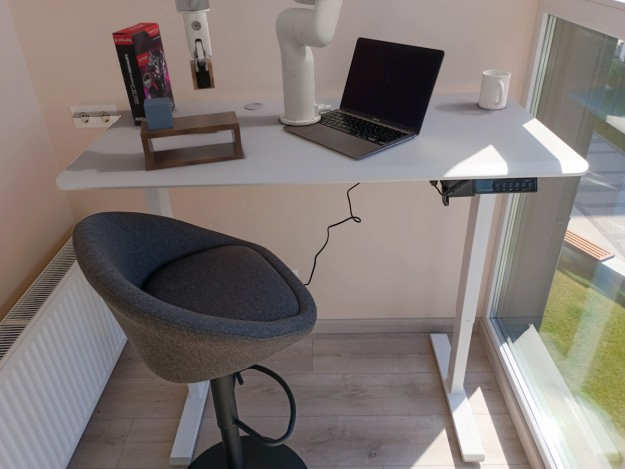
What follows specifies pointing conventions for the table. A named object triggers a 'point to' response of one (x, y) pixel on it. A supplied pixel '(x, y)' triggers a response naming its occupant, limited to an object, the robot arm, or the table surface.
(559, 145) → the table surface
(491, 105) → the mug
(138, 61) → the graphics card box
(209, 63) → the cardboard box
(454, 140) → the table surface
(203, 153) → the brown rectangular fixture
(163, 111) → the blue box
